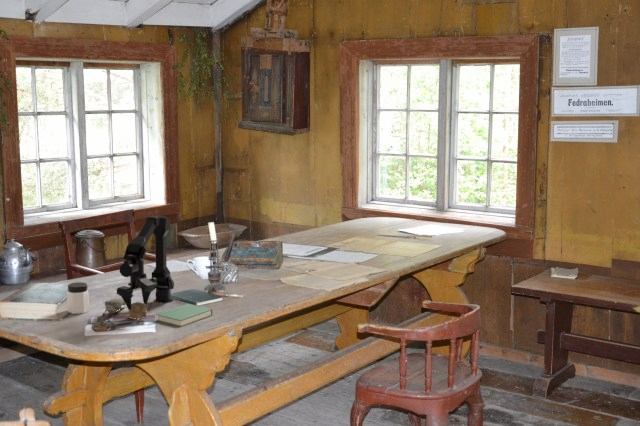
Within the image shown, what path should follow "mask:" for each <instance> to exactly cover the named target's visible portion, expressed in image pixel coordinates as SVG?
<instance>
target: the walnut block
mask: <svg viewBox="0 0 640 426" xmlns="http://www.w3.org/2000/svg"><path fill="white" fill-rule="evenodd" d="M145 316H146V317H147V304H144V302H140V301H136V302H133V303H131V310H129V309H128V318H129V317H132V318H136V319H138V318H142V317H145Z"/></svg>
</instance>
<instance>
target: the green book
mask: <svg viewBox="0 0 640 426" xmlns="http://www.w3.org/2000/svg"><path fill="white" fill-rule="evenodd" d="M155 316H157V319H156V321H158V322H161V323H165V324H170V325H173V326H175V327H176V326H177V327H184V326H186V325H189V324H191V323H195V322H198V321H200V320H202V319H203V320H204V319H206V318H208V317H211V316H213V309H212V308H209V307H205V306H200V305H198V304H197V305H196V304H191V303H185V304H182V305H180V306H176V307H174V308H173V307H172V308H171V309H168V310H166V311H162V312H159V313H156V314H155Z"/></svg>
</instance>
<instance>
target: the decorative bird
mask: <svg viewBox="0 0 640 426" xmlns="http://www.w3.org/2000/svg"><path fill="white" fill-rule="evenodd" d="M103 304H104V307H105V311H104V312H102V316H101V317H104V316H106V313H108V316H109V317H111V316H112V314H116V311H117V310H119V309H120V308H121V306H122V305H125V306H126V304H125V302H124V300H123V298H122V297H121V296H119V297H116V298H112V299H110V300H106V301H105V302H103ZM121 309H122V308H121Z"/></svg>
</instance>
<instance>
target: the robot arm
mask: <svg viewBox="0 0 640 426" xmlns="http://www.w3.org/2000/svg"><path fill="white" fill-rule="evenodd" d="M171 223H172V221H171V219H170V218H169V217H168V216H158V215H154V216H147V217H146V218H145V222H144V224H143V225H142V227H141V229H140V231H139V233H138V234H137V236H136V237H134V238H132V239H131V240H130V241H129V242H128V244H127V245H126V249H125V252H124V255H123V260H124V261H123V264H121V265H120V266H119V274H120V275H121V276H123V277H124V278H129V282H128V284H127V285H123V286H119V287H117V288H116V295H118V296H119V297H122V298H123V300H124V302H125V306H126V307H127V309H128V311H129V310H131V304H132V298H133V297H134V294H133V293H134V291H137V290H141V295H142V301H143V302H142V303H144V304H146V305H147V304H148V302H149V298H150V295H151V294H152V292H153V291H155V299H154V300H153V302H155V303H161V304H166V303H169V302H172V301H174V299H173V298H172V297H171V296H172V295H171V294H172V293H171V291H172V290H174V288H175V282H174V280H173V279H172V276H171V271H170V270H169V268H168V266H167V235H168V233H169V232H170V230H171V229H170V228H171ZM152 235H154V240H155V241H154V243H155V246H154V247H155V249H154V250H155V268H154V270H153V271H152V272H151V278H148V277H147V273H145V267H144V264H145V263H144V262H145V259H146V257H145V256H146V254H147V252H148V251H147V250H148V246H147V245H148V241H149V240H150V238H151V237H152Z"/></svg>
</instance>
